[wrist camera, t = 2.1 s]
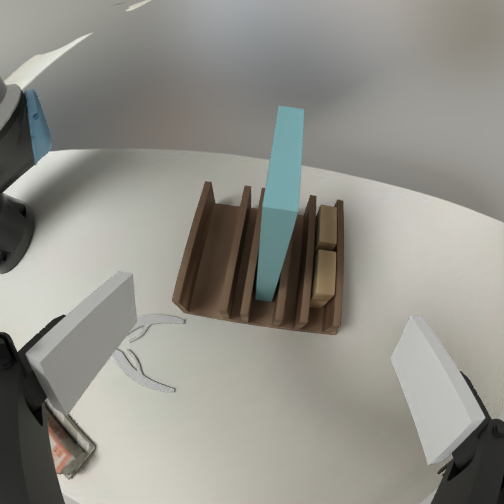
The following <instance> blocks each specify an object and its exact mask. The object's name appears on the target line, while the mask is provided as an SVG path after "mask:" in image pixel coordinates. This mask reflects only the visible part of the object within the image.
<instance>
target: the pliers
mask: <svg viewBox="0 0 504 504" xmlns="http://www.w3.org/2000/svg"><path fill="white" fill-rule="evenodd" d="M184 322H185V320H183V319H180V318H177V317H173V316H168V315H158V314H154V315H145V316H140V317H137V323H136V325H135V326H134V327H133V328H132V330H131V331H130V332H129V333H128V334H130V333H131V332H133V331H134V330H136V329H138V328H139V327H143V326H144V328H143V330H142V332H141V333H140V334H139V335H138V336H136V337H135V338H133V339H130V340H129V341H130V342H132V341H135V340H137V339H139V338H141V337H142V336H143V335H144V334H145V332H146V331H147V329H148V328H149V327H150V326H151V325H152V324H161V323H175V324H184ZM128 352H129V353H130V354H131V356H132V357H133V358H134V360H135V362H136V365H137V370H136V369H134V368H133V367H132V365H131V364H130V363H129V361H128V360H127V358H126V357H125V355H124V354H123V352H121V351H119V350H118V349H116V350H115V351H114V353H113V354H112V356H113V358H114V359H115V360H116V361H117V363H118V365H119V366H120V368H121V369H122V370H123V371H124V372H125V374H127V375H128V376H129V377H130V378H131V379H133V380H134V381H136V382H137V383H139V384H141V385H143V386H145V387H148V388H150V389H153V390H157V391H163V392H175V389H174V388H171V387H168V386H165V385H162V384H160V383H157V382H155V381H153V380H151V379H149V378H147V377H146V376H144V375H143V373H142V371H141V367H140V364H139V362H138V359H137V358H136V356H135V355H134V354H133V353H132V352H131V351H130V350H129V349H128Z"/></svg>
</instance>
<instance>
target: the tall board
mask: <svg viewBox="0 0 504 504" xmlns="http://www.w3.org/2000/svg"><path fill="white" fill-rule="evenodd" d="M303 124H304V109H299V108H292V107H284V106H279V109H278V115H277V121H276V127H275V133H274V139H273V145H272V151H271V157H270V164H269V170H268V176H267V182H266V188H265V194H264V200H263V206H262V219H261V232H260V246H259V259H258V272H257V284H256V297H255V300H261V301H268V302H272V299H273V296H274V292H275V289H276V286H277V283H278V279H279V276H280V273H281V269H282V266H283V263H284V259H285V256H286V252H287V249H288V246H289V242H290V239H291V235H292V232H293V228H294V225H295V221H296V218H297V214H298V207H299V194H300V179H301V164H302V145H303Z"/></svg>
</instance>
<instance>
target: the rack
mask: <svg viewBox="0 0 504 504" xmlns="http://www.w3.org/2000/svg"><path fill="white" fill-rule="evenodd" d="M264 194H265V188H262V191H261V196H260V202H259V208H258V209H254V208H251V186H245V187H244V192H243V196H242V201H241V206H240V207H239V206H231V205H223V204H215V199H214V194H213V188H212V183H211V182H207V181H205V184H204V188H203V191H202V194H201V197H200V200H199V203H198V207H197V210H196V213H195V217H194V220H193V223H192V227H191V230H190V234H189V237H188V241H187V244H186V248H185V251H184V255H183V259H182V262H181V266H180V270H179V274H178V278H177V282H176V286H175V290H174V294H173V298H172V302H173V303H174V304H176V305H177V306H178V307H179V308H180V309H181V310H182V311H183V312H184V313H188V314H193V315H198V316H203V317H209V318H214V319H220V320H226V321H231V322H238V323H244V324H250V325H257V326H264V327H271V328H278V329H286V330H294V331H302V332H311V333H320V334H330V335H335V334H337V328H338V327H340V326H341V312H342V294H343V267H344V211H343V201H342V200H337V202H336V204H335V206H334V207H336V208H337V244H336V246H335V247H334V249H333V250H332V251H333V252H336V276H335V295H334V296H333V297H332V298H331V299H330V300H329V301H328V302H327V303H326V304H325V305H324V306H323V307H322V308H313V307H309V305H310V294H311V282H312V270H313V256H314V240H315V220H316V196H313V195H310V198H309V201H308V204H307V207H306V210H305V213H304V216H302V215H297V218H296V221H295V225H294V228H293V232H292V235H291V239H290V242H289V246H288V249H287V252H286V256H285V259H284V263H283V266H282V269H281V273H280V276H279V279H278V283H277V286H276V289H275V292H274V296H273V299H272V302H268V301H261V300H255V297H256V284H257V272H258V259H259V246H260V232H261V219H262V206H263V200H264Z"/></svg>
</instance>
